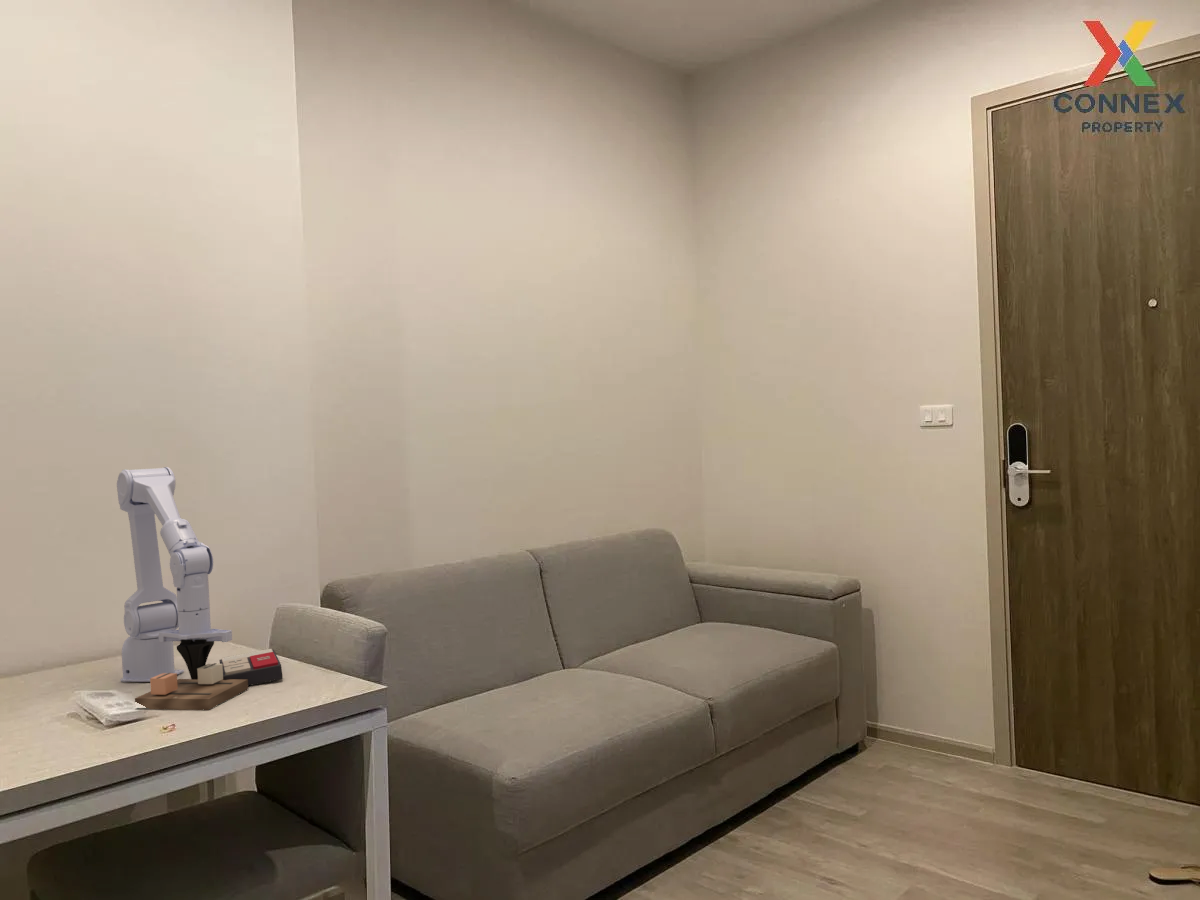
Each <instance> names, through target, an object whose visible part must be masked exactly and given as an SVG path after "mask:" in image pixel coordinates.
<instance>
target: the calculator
mask: <svg viewBox="0 0 1200 900" xmlns="http://www.w3.org/2000/svg"><path fill="white" fill-rule="evenodd" d="M219 664H222V666H223V680H229V679H248V687H250V686H255V685H260V684H264V683H265V684H266V683H269V682H274V681H280V680H282V679H283V669H282V664H281V662H280V660H279V657H278V655H277V654H276V651H275V650H274V649H273V648H268V649H263V650H262V649H261V650H257V651H252V652H247V653H246V652H245V653H241V654H236V655H231V656H225V657H222V658H221V659H219ZM249 685H250V686H249Z"/></svg>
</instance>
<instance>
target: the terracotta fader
mask: <svg viewBox="0 0 1200 900" xmlns="http://www.w3.org/2000/svg"><path fill="white" fill-rule="evenodd" d="M177 679H178V675H177V673H162V674H160V675H157V676H155V677H152V678H150V682H149V683H150V691H151V694H158V695H166V694H168V693H170V692H172V691H174V690H177V689H178V684H177Z"/></svg>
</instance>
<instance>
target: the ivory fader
mask: <svg viewBox="0 0 1200 900" xmlns="http://www.w3.org/2000/svg"><path fill="white" fill-rule="evenodd" d="M197 672H198V684H214V683H216V682H218V681H220V680H222V679H223V666H222V664H220V663H216V662H214V663H206V665H204V666H202V667H200V668H197Z"/></svg>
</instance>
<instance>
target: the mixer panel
mask: <svg viewBox="0 0 1200 900" xmlns="http://www.w3.org/2000/svg"><path fill="white" fill-rule="evenodd" d="M177 684H178V689H177V690H174V691H172V692H170V693H168V694H166V695H158V694H151V690H150V691H148V692H146V693H144V694H141V695H139V696H136V697H134V703H135V702H137V703H139V704H141V705H143V706H145V707H146V708H149V709H148V710H174V711H175V710H176V711H177V710H179V711H210V710H212V709H214V708H215V706H216V705H218V704H220V703H221V704H223V703H225V702H227V701H229V700H231V699H232V697H233V698H235V697H237V696H239V695H240V694H239V693H241V692H242V693H244V692H246V691H248V690H249V686H248V679H229V680H223V679H222V680H220V681H218V682H216V683H214V684H198V679H197V680H194V679H191V678H177ZM247 689H248V690H247ZM245 690H246V691H245ZM243 691H244V692H243ZM242 693H241V694H242ZM238 694H239V695H238ZM236 695H237V696H236ZM234 696H235V697H234ZM230 698H231V699H230ZM228 699H229V700H228ZM226 700H227V701H226ZM224 701H225V702H224ZM222 702H223V703H222ZM221 704H220V705H221ZM218 706H219V705H218ZM213 707H214V708H213ZM216 707H217V706H216ZM211 708H212V709H211ZM203 709H204V710H203ZM209 709H210V710H209Z"/></svg>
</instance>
